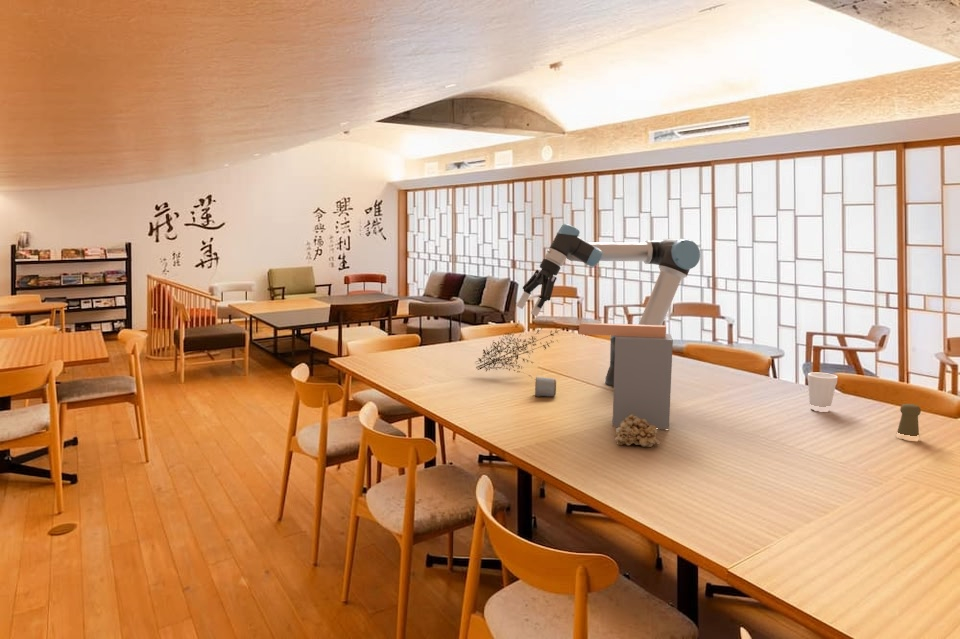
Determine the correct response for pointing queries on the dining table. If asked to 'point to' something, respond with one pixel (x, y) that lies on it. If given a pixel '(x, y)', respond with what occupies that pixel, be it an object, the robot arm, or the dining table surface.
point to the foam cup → (821, 388)
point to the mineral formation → (636, 432)
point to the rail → (622, 329)
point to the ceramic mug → (545, 387)
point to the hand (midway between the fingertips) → (526, 311)
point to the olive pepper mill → (909, 420)
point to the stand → (642, 379)
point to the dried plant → (509, 352)
